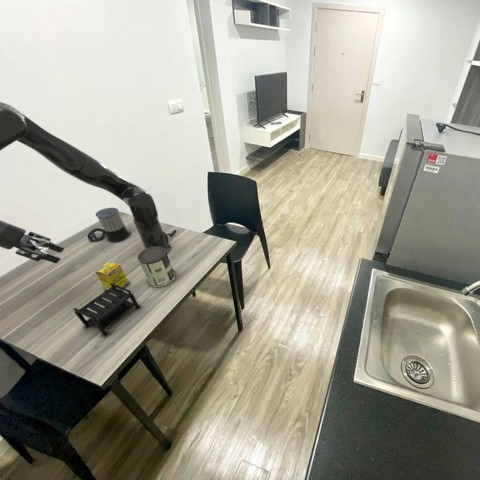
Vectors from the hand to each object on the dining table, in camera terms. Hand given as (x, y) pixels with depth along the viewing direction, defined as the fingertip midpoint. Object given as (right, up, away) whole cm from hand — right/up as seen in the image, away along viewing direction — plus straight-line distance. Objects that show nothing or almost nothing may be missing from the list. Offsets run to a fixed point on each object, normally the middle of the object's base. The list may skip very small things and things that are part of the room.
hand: (60, 255), depth 94 cm
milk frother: (-14, +7, +39) cm, 42 cm away
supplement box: (+10, -14, +14) cm, 22 cm away
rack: (+17, -23, +3) cm, 29 cm away
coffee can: (+25, -11, +20) cm, 34 cm away
